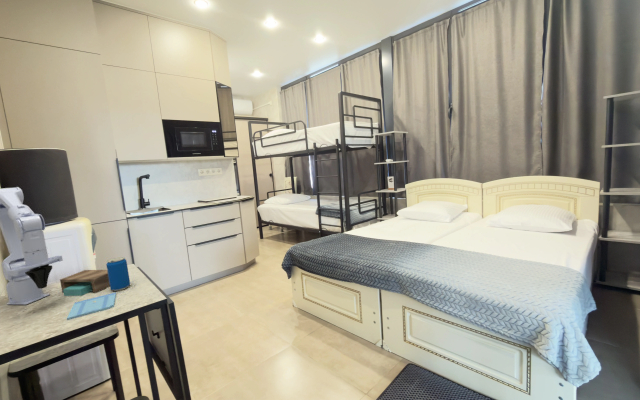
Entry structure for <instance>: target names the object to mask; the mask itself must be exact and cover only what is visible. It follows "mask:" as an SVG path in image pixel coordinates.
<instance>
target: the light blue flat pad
mask: <svg viewBox="0 0 640 400" xmlns="http://www.w3.org/2000/svg"><path fill="white" fill-rule="evenodd" d="M116 297H117V291H114V292H112V293H111V292H110V293H108V294H103V295H100V296H95V297H92V298H87V299H83V300H80V301H76V302H74V304H73V305H72V307H71V310H70V311H69V313H68V315H67V317H66V320H67V321H70V320H74V319H77V318H80V317H84V316H89V315H92V314H96V313H99V311H100V312H103V311H106V310H109V309H110V310H111V309H112V308H114V307H115V302H116Z"/></svg>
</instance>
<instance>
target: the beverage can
mask: <svg viewBox="0 0 640 400" xmlns="http://www.w3.org/2000/svg"><path fill="white" fill-rule="evenodd" d="M105 265H106V270H107V272H108V277H109V283H110V286H109V289H110V290H111V291H113V292H118V291H122V290H126V289H127V288H129V286H130V285H131V281H130V280H131V279H130V274H129V269H128V263H127V259H126V258H125V257H124V256H120V257H114V258H111V259H108V260H107V261H106V264H105Z"/></svg>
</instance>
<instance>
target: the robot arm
mask: <svg viewBox="0 0 640 400" xmlns="http://www.w3.org/2000/svg"><path fill="white" fill-rule="evenodd" d="M24 197H25V196H24V193H23V189H21V188H20V187H19V186H16V187H5V188H3V187H2V188H0V230H1V233H2V237H3V239H4V243H5V244H6V247H7V250H8V253H9V255H8V256H7V257H6V258H5V259H3V260H2V263H1V268H2V273H3V276H4V278H5V280H6V281H8V282H7V283H6V293H7V298H8V302H6V305H18V306H19V305H29V304H31V303H34V302H36V301H38V300H42V299H43V298H46V297H48V296H50V295H51V294H50V293H44V291H43V289H45V288H47V287H48V280H49V277H50V274H51V271H52V269H53V265H51V264H54V263H55V264H56V263H58V262H62V261H64V260H63V259H64V258H63V255H55V256H52V257H51V256H50V257H49V255H48V248H47V244H46V239H45V235H44V231H45V230H46V223H45V219H44V217H43V215H42V214H39V213H35V212H34V211H33V210H32V209H31V208H30V206H28V205H27V204H23V203H24V199H25V198H24Z"/></svg>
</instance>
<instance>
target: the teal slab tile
mask: <svg viewBox="0 0 640 400" xmlns="http://www.w3.org/2000/svg"><path fill="white" fill-rule="evenodd" d="M63 292H64V293H63V296H65V297H69V296H70V297H72V296H73V297H78V296H79V297H82V296H85V295H86V294H88V293H90V292H93V288H92V283H91V282H79V283H77V284H75V285H72V286H70V287H68V288H65V289H63Z"/></svg>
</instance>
